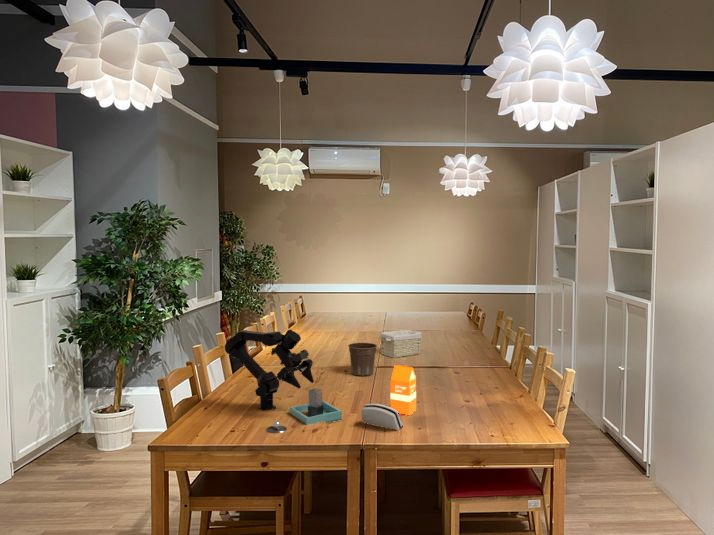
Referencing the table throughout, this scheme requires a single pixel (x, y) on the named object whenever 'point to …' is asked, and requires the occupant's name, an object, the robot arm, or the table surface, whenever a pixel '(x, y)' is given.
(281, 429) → the stud plate
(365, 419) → the magnetic glass cleaner
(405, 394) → the orange juice
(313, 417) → the bin
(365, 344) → the plant pot
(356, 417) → the table surface
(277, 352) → the robot arm
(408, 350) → the storage basket
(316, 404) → the strut
